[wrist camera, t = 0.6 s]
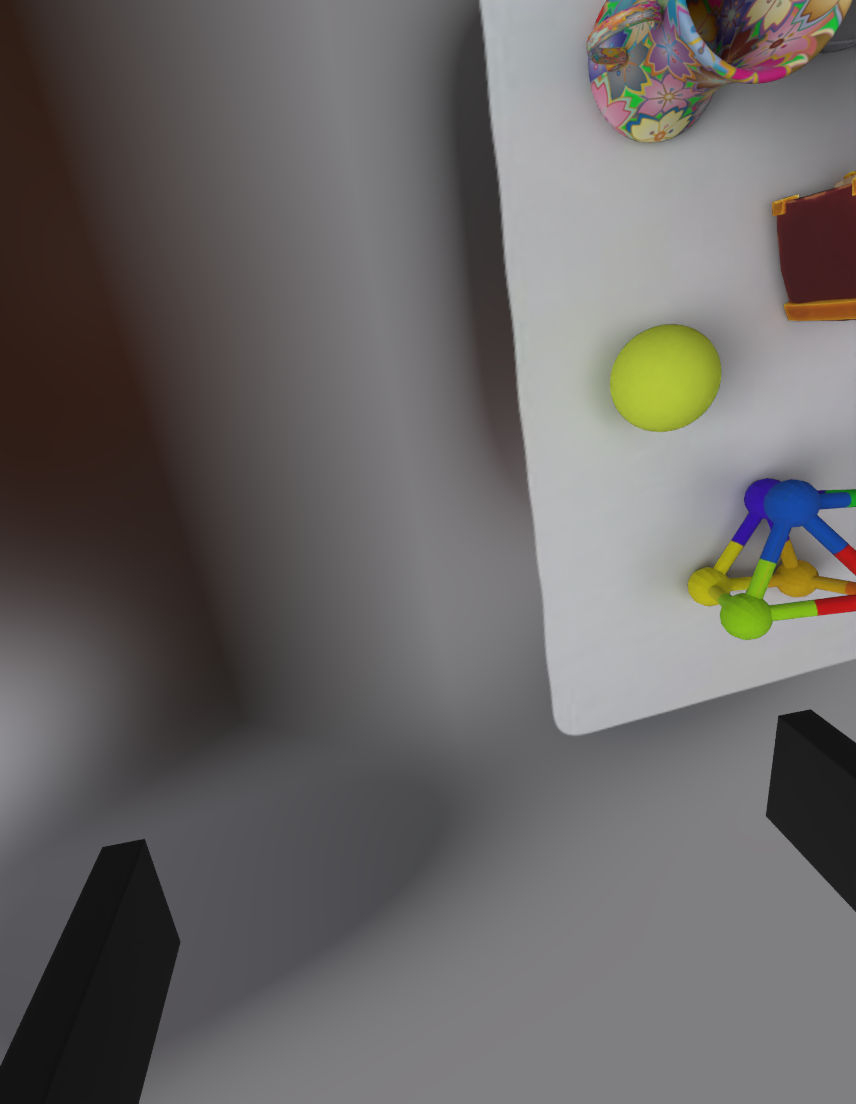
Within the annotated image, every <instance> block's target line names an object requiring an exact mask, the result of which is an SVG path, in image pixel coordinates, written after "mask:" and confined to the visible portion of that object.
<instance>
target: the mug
mask: <svg viewBox="0 0 856 1104" xmlns="http://www.w3.org/2000/svg"><path fill="white" fill-rule="evenodd" d="M851 2H852V0H607V1H606V2H605V4H604V6H603V7H602V9H601V11H600V13H599V16H598V18H597V20H596V23H595V26H594V29H593V31H592V32H591V34H590V35H589V37H588V39H587V53H588V56H589V58H588V67H589V78H590V84H591V88H592V92H593V95H594V98H595V100H596V103H597V105H598V107H599V109H600V111H601V113H602V114H603V116H604V117H605V119H606V120H607V121H608V122H609V124H610V125H611V126H612V127H613V128H614V129H616V130H617V131H618V132H619V133H621V134H623V135H624V136H626V137H628V138H630V139H633V140H636V141H640V142H659V141H664V140H668V139H670V138H673V137H675V136H677V135H679V134H680V133H682V132H684V131H685V130H686V129H688V128H689V127H690V126H691V125H692V124H693V123H694V122H695V121H696V120H697V119H698V118H699V117H700V115H701V114H702V113H703V111H704V110H705V108H706V107H707V106H708V104H709V102H710V100H711V98H712V96H713V94H714V92H715V91H716V90H717V89H719V88H721V87H722V86H725V85H727V84H730V83H734V82H741V83H750V84H756V83H766V82H771V81H775V80H778V79H781V78H783V77H786V76H788V75H790V74H792V73H793V72H795V71H797V70H799V69H800V68H801V67H803V66H804V65H806V64H807V63H808V62H809V61H811V60H812V59H813V58H814V57H815V56H816V55H817V54H818V53H819V52H820V51H821V50H822V49H823V48H824V47H825V45H826V44H827V43H828V42H829V41H830V39H831V38H832V37H833V35H834V34H835V32H836V31H837V29H838V28H839V26H840V24H841V23H842V21H843V19H844V17H845V15H846V13H847V11H848V9H849V7H850V5H851Z"/></svg>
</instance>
